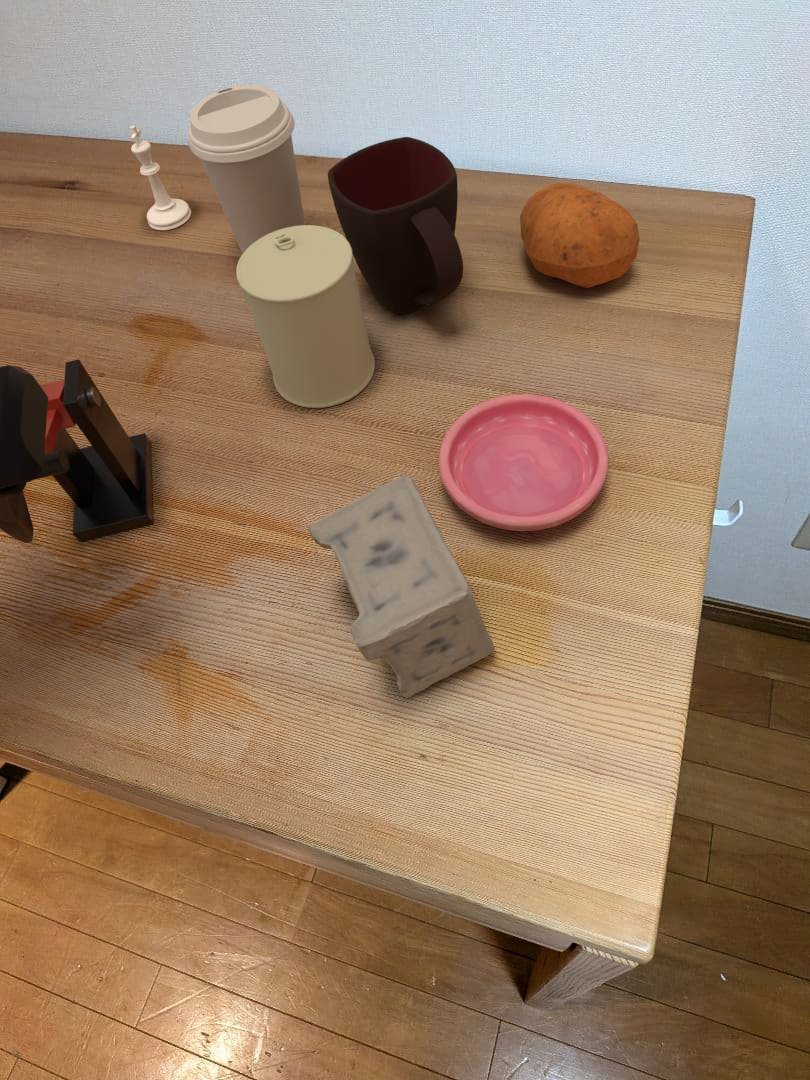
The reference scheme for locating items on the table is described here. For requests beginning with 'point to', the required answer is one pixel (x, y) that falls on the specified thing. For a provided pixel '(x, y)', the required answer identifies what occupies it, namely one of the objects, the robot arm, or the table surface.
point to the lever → (55, 430)
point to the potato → (578, 234)
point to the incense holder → (404, 586)
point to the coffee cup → (249, 159)
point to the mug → (400, 221)
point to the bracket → (102, 464)
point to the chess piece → (158, 190)
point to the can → (308, 314)
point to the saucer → (523, 462)
